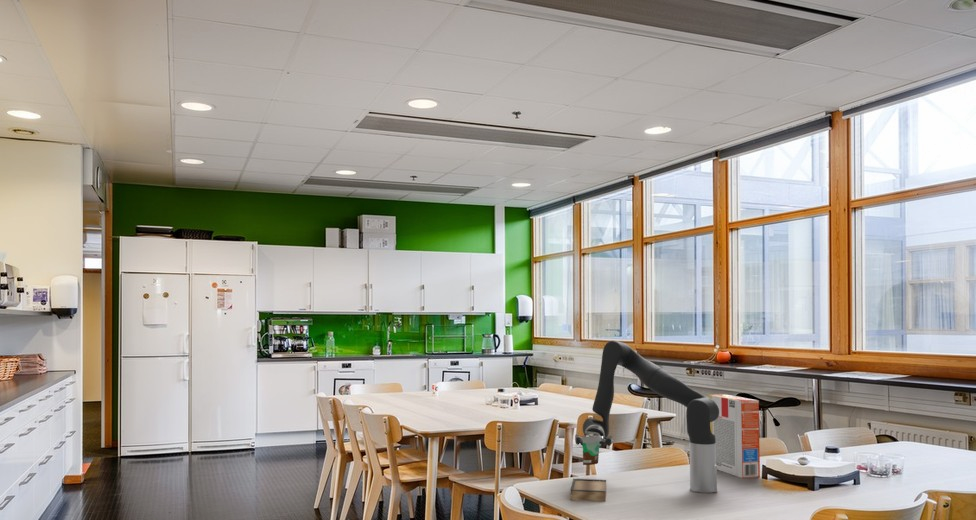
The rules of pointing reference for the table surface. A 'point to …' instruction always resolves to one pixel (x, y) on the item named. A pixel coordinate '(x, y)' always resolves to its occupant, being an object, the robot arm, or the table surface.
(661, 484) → the table surface
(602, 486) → the dock
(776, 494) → the table surface
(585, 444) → the food container
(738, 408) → the pasta box
